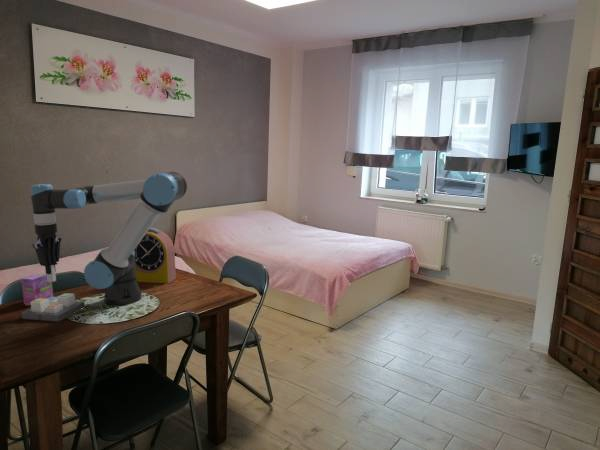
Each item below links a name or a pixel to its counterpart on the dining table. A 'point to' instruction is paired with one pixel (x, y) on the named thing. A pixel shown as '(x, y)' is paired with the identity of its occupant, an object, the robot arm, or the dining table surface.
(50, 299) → the slate key
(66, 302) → the sage key
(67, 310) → the keypad board
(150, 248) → the alarm clock
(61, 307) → the terracotta key
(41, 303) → the mustard key
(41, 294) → the box
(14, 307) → the dining table surface
